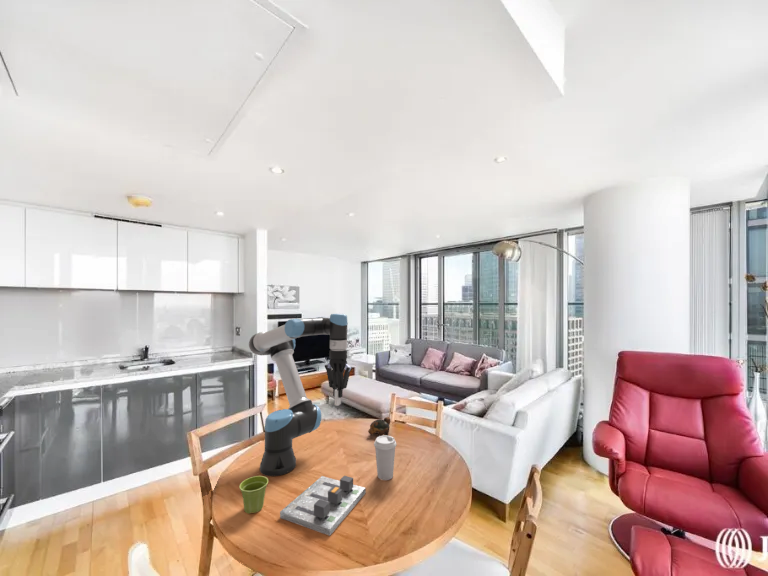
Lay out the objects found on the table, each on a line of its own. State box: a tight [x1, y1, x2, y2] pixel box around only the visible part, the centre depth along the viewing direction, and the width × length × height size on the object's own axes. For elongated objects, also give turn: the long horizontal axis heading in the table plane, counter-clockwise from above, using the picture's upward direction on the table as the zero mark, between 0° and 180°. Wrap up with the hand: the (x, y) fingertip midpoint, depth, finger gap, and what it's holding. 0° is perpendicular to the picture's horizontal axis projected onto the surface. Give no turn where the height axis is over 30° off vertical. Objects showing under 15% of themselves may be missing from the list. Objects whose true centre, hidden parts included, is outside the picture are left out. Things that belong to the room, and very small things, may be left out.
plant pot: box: [239, 475, 269, 515], centre depth 110 cm, size 9×9×9 cm
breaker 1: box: [314, 499, 329, 519], centre depth 103 cm, size 4×3×4 cm
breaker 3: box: [339, 475, 354, 492], centre depth 118 cm, size 4×3×4 cm
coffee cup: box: [373, 435, 397, 481], centre depth 131 cm, size 10×10×15 cm
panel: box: [279, 475, 367, 537], centre depth 112 cm, size 20×24×2 cm
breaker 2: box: [328, 487, 342, 504], centre depth 111 cm, size 4×3×4 cm
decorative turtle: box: [367, 416, 391, 436], centre depth 173 cm, size 10×15×8 cm, turn 137°
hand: (337, 404), depth 134 cm, fingers closed
